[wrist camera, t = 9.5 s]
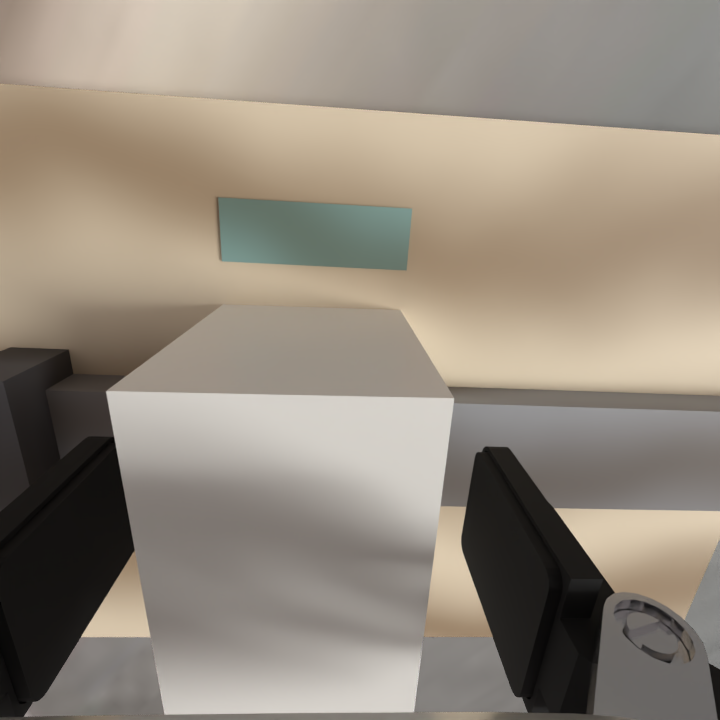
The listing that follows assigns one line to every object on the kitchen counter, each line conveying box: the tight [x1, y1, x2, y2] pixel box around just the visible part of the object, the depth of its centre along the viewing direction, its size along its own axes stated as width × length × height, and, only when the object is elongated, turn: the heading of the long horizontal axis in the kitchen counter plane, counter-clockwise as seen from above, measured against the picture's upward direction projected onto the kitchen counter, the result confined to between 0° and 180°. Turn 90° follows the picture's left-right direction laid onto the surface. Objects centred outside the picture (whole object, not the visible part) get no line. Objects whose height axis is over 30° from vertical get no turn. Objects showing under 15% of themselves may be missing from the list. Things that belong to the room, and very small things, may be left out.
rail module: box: [106, 304, 454, 715], centre depth 10 cm, size 9×5×6 cm, turn 178°
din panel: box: [0, 84, 720, 637], centre depth 12 cm, size 18×24×4 cm
